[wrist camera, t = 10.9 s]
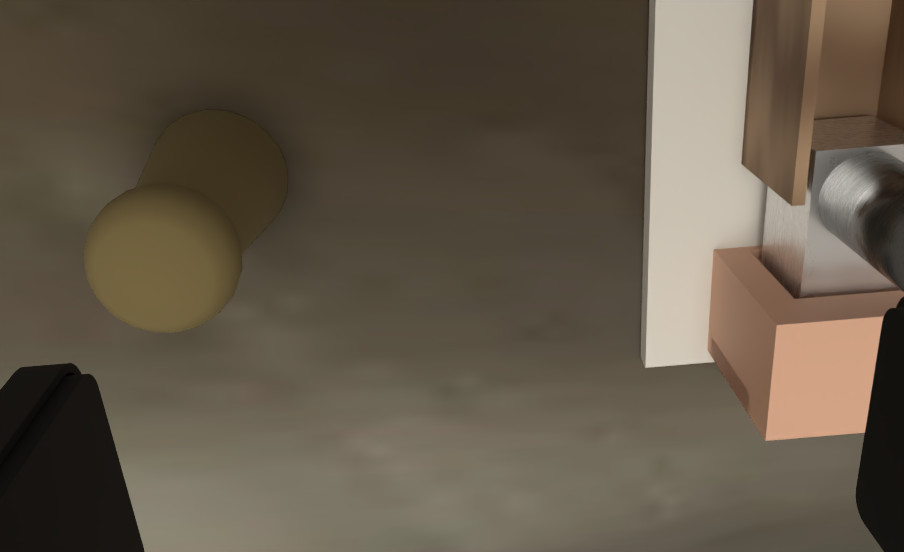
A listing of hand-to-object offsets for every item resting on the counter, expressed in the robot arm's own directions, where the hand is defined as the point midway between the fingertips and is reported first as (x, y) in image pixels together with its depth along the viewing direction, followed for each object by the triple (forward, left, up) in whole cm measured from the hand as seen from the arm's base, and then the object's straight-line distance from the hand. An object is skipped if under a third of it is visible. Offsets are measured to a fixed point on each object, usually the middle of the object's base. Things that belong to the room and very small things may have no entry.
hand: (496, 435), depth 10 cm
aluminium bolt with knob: (+9, +16, -26) cm, 32 cm away
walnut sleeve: (+1, +16, -27) cm, 32 cm away
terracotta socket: (+12, +16, -27) cm, 34 cm away
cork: (+5, -10, -28) cm, 31 cm away
